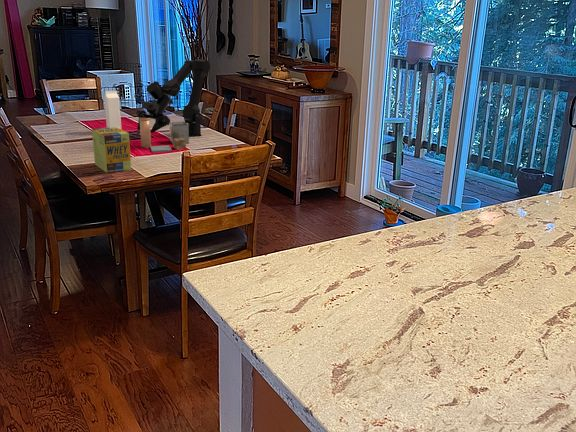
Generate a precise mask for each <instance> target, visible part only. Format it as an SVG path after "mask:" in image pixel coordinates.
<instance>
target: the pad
mask: <svg viewBox="0 0 576 432" xmlns="http://www.w3.org/2000/svg"><path fill="white" fill-rule="evenodd" d="M149 148H150V150H151V152H152V153H167V152H169V151H170V152H173V150H172V148H171V146H170V145H167V144H166V145H151V146H150V147H149Z"/></svg>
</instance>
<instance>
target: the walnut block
mask: <svg viewBox="0 0 576 432" xmlns="http://www.w3.org/2000/svg"><path fill="white" fill-rule="evenodd" d="M172 146H173V147H172V148H173V149H175V150H178V151H179V149H180V150H185V149H184V148H186V149H187V143H186V140H185V139H183V138H176V139H173V144H172Z"/></svg>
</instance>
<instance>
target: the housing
mask: <svg viewBox="0 0 576 432" xmlns="http://www.w3.org/2000/svg"><path fill="white" fill-rule="evenodd" d="M189 137H190V136H189V130H188V123H186V122H185V121H171V122H170V124H169V139H170V140H169V141H170V142H171V143H172V145H173V139H176V138H183V139H185V140H186V144H190V138H189Z"/></svg>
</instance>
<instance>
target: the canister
mask: <svg viewBox="0 0 576 432" xmlns="http://www.w3.org/2000/svg"><path fill="white" fill-rule="evenodd" d="M150 119H151V118H148V117H141V118H138V121H139V120H140V130H139V133H140V145H141V148H146V149H147V148H150V146H152V142H151V141H152V139H151V138H152V137H151V121H150Z"/></svg>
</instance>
